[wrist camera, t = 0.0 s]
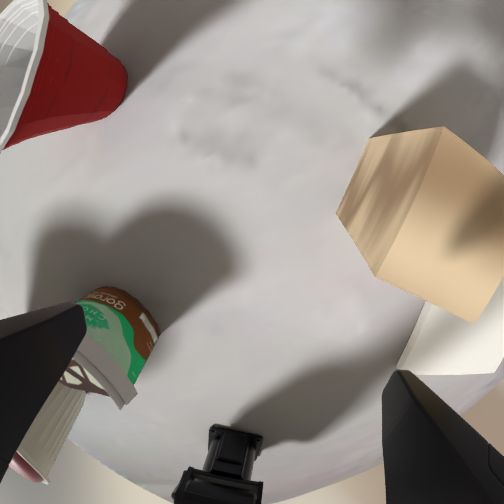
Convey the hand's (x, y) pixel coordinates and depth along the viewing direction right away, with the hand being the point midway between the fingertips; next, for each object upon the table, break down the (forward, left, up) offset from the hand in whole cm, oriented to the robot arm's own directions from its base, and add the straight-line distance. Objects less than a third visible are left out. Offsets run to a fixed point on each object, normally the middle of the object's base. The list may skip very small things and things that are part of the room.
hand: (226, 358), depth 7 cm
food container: (-10, +14, -15) cm, 23 cm away
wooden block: (+4, -8, -15) cm, 17 cm away
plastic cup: (+10, +16, -15) cm, 24 cm away
